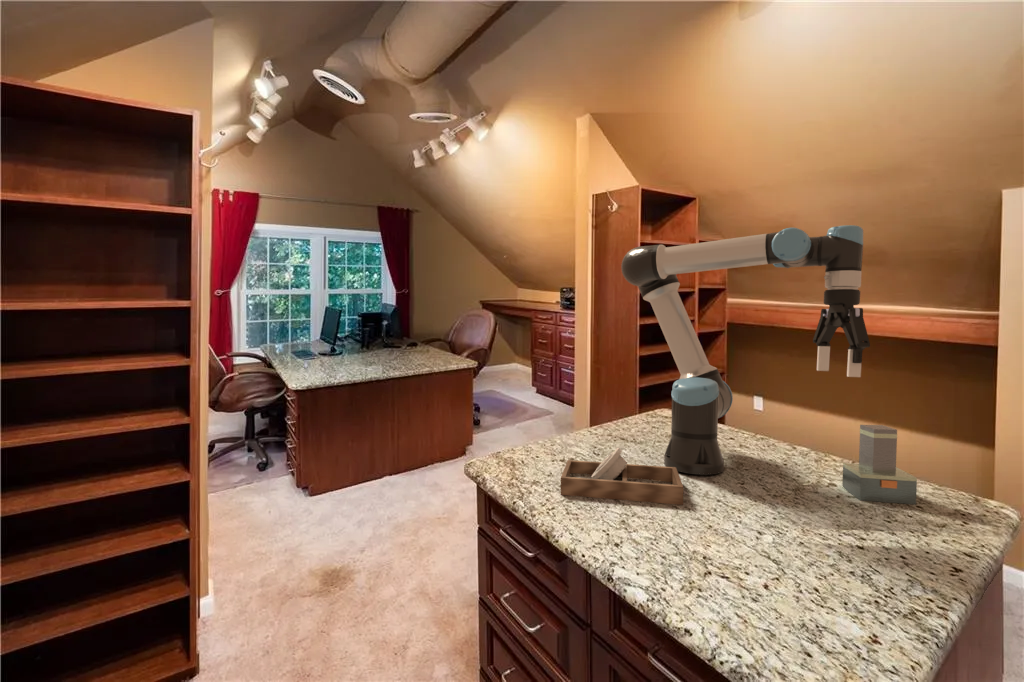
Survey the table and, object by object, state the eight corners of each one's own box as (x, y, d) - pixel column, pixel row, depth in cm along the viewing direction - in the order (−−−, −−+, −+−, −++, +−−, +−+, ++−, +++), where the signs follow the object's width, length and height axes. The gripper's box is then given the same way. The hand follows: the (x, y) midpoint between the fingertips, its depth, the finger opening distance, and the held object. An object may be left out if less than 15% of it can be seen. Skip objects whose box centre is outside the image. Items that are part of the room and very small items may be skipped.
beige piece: (587, 477, 123) (612, 449, 126) (600, 490, 122) (625, 461, 125) (594, 474, 114) (621, 444, 116) (608, 488, 113) (635, 457, 115)
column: (858, 466, 116) (860, 424, 116) (880, 466, 116) (882, 425, 116) (872, 472, 111) (874, 429, 111) (895, 473, 111) (897, 429, 111)
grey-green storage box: (860, 500, 110) (861, 474, 110) (842, 487, 119) (843, 463, 119) (917, 505, 107) (918, 478, 107) (893, 490, 117) (894, 466, 116)
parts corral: (560, 494, 113) (560, 477, 112) (567, 475, 127) (567, 460, 127) (683, 504, 107) (683, 487, 106) (675, 483, 121) (675, 467, 121)
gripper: (801, 291, 134) (797, 368, 135) (856, 285, 109) (851, 379, 110) (830, 292, 133) (825, 368, 134) (892, 286, 109) (886, 380, 110)
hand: (837, 373), depth 122 cm, fingers open, 13 cm apart
